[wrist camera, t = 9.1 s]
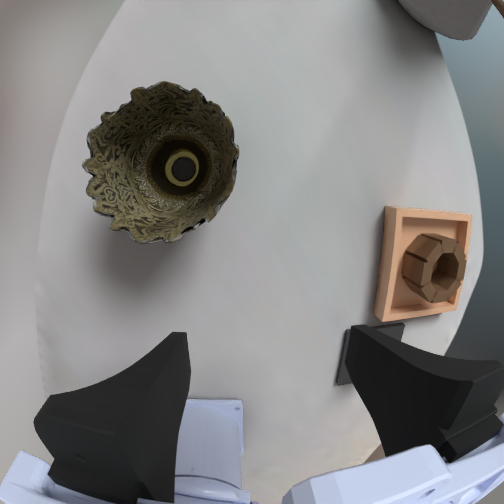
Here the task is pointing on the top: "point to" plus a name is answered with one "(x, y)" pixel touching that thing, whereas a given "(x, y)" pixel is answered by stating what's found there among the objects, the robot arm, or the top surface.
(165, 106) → the cup
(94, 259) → the top surface
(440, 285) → the ring
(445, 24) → the coffee pot
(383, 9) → the top surface
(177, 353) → the robot arm
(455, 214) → the dish
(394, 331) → the stand
